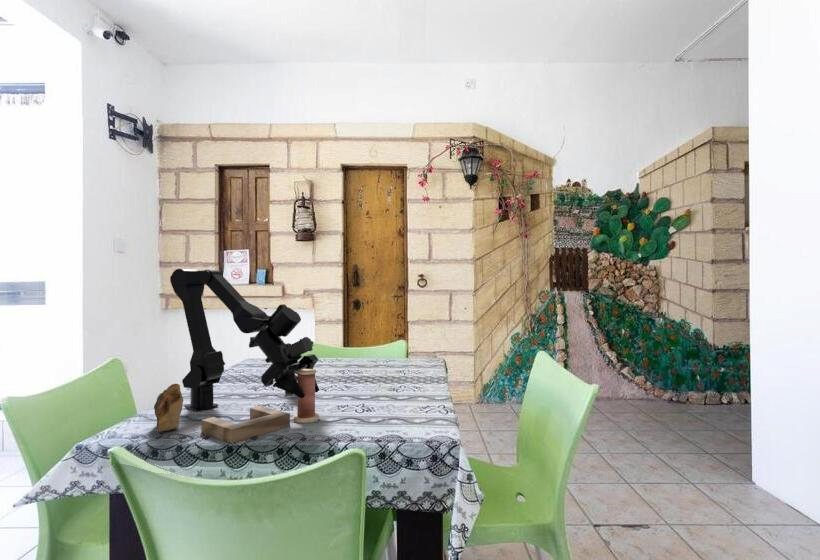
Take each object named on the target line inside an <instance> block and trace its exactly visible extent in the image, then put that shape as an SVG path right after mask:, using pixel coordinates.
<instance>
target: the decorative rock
mask: <svg viewBox="0 0 820 560" xmlns="http://www.w3.org/2000/svg"><path fill="white" fill-rule="evenodd" d="M183 403H184V397H183V394H182V391H181V385H180V384H179V383H172V384H171V385H169V386H168V387H167V388H166V389H164V390H163V391H162V392H161V393H159V394H158V396H157V397H156V401H155V404H154V406H153V409H154V415H155V417H156V428H157V429H158V432H165V431H172V430H174V429H176V428H179V425H180V419H181V418H180V416H181V414H182V411H183Z"/></svg>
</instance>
